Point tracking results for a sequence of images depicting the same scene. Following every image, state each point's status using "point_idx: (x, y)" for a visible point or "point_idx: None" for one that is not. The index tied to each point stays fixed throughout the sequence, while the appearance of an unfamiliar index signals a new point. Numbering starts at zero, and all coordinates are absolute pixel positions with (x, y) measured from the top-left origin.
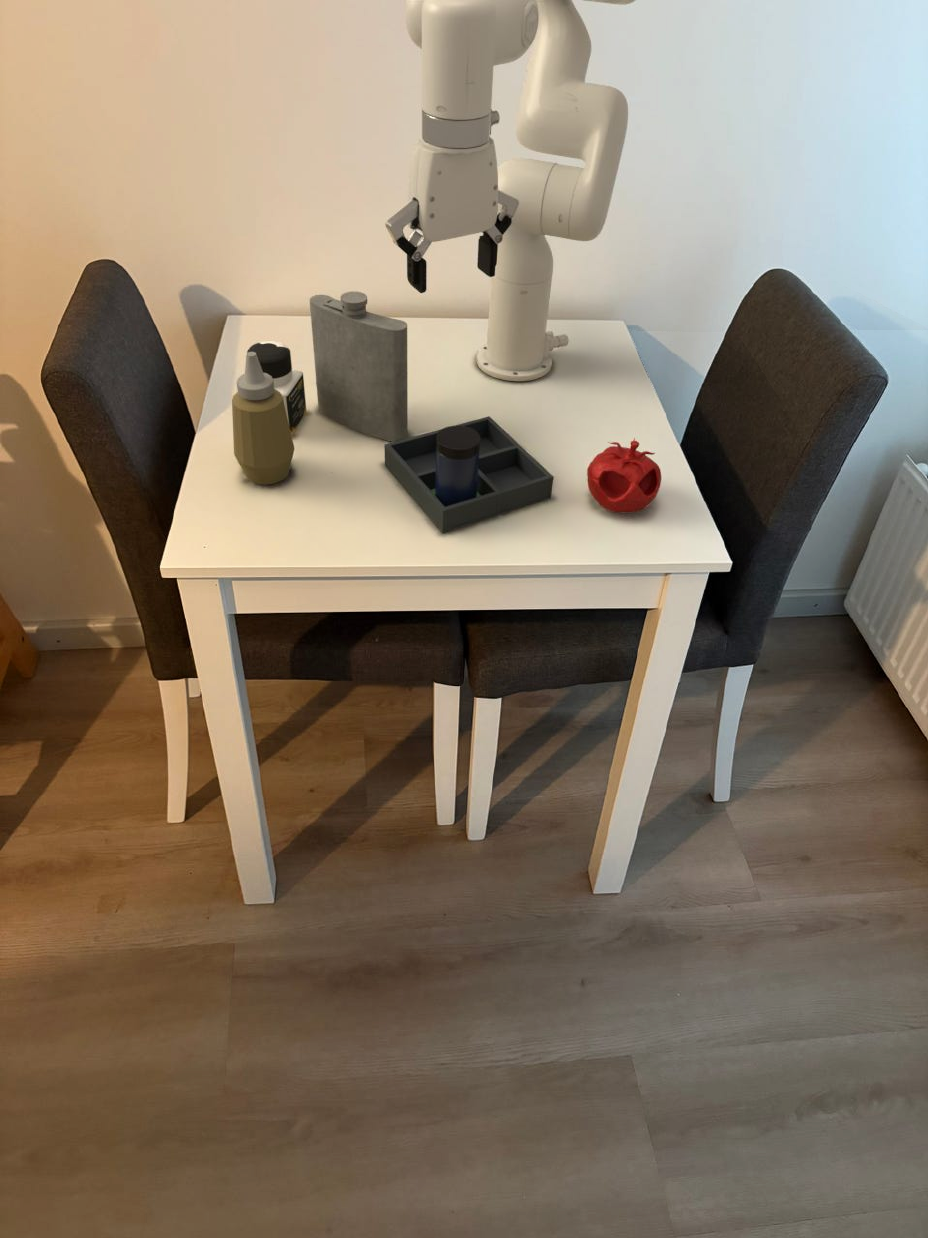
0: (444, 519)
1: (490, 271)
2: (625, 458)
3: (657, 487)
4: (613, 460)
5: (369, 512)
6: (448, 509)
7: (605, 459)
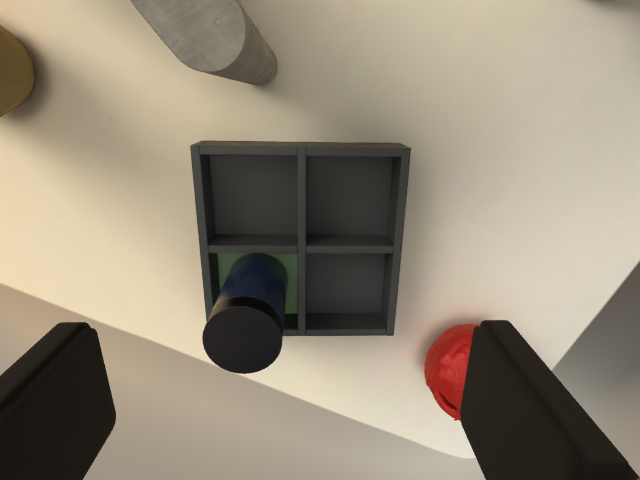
0: None
1: (471, 440)
2: None
3: None
4: None
5: (138, 238)
6: None
7: (461, 385)
